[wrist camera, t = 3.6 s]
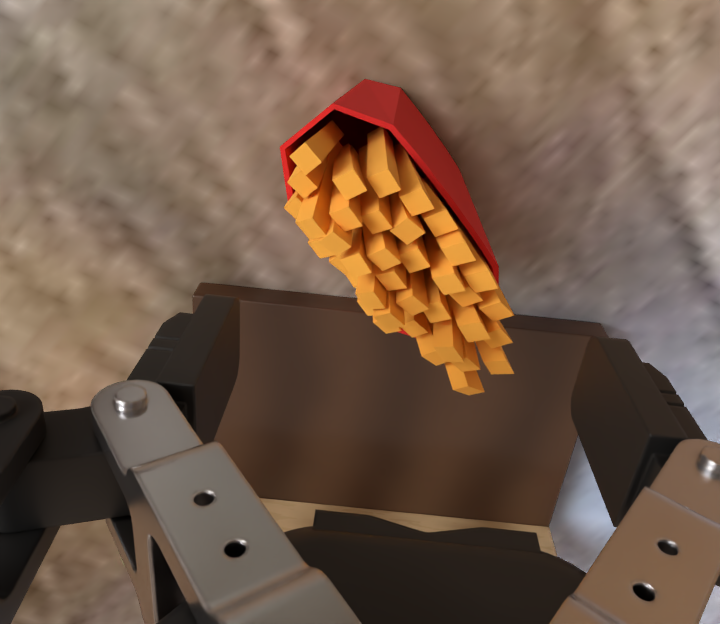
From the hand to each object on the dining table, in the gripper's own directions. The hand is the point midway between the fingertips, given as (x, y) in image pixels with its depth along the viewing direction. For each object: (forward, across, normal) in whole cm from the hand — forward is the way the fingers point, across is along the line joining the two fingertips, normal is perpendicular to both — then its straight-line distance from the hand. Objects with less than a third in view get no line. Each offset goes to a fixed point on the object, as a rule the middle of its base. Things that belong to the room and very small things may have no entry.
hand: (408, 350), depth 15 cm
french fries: (+16, 0, 0) cm, 16 cm away
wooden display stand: (+16, -1, +14) cm, 21 cm away
